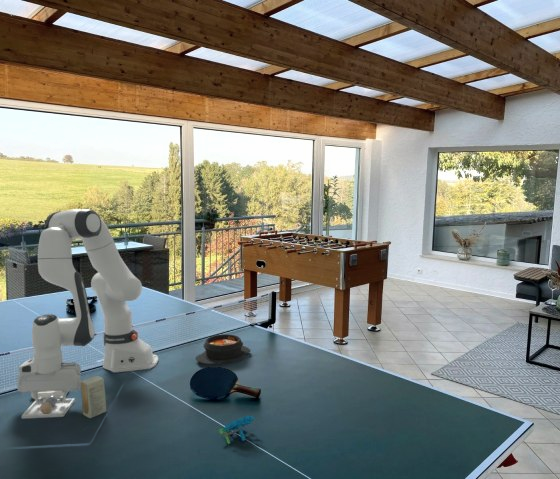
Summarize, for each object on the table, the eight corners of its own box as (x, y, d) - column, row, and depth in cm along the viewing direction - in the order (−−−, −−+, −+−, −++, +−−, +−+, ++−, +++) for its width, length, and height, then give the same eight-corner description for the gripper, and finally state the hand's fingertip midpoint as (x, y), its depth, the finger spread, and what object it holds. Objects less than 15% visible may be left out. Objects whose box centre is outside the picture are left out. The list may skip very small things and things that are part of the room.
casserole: (233, 346, 227) (233, 328, 225) (259, 356, 213) (259, 338, 212) (187, 360, 210) (186, 341, 209) (212, 372, 196) (211, 352, 195)
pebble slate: (59, 403, 170) (58, 393, 169) (55, 408, 166) (54, 398, 166) (48, 403, 169) (47, 393, 169) (44, 408, 166) (43, 398, 165)
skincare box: (99, 409, 167) (97, 374, 165) (107, 412, 164) (104, 377, 162) (82, 416, 162) (79, 380, 160) (89, 420, 159) (86, 384, 157)
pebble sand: (54, 410, 165) (53, 399, 164) (49, 415, 161) (49, 404, 161) (42, 410, 165) (42, 400, 164) (38, 415, 161) (37, 405, 160)
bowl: (73, 387, 184) (72, 378, 183) (62, 401, 172) (61, 392, 172) (41, 388, 183) (40, 379, 182) (27, 403, 171) (26, 393, 171)
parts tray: (75, 402, 171) (74, 398, 171) (63, 418, 160) (63, 413, 160) (35, 404, 170) (35, 400, 170) (21, 420, 159) (21, 415, 159)
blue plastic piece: (249, 420, 154) (254, 410, 147) (256, 439, 151) (262, 429, 144) (216, 433, 150) (220, 423, 142) (222, 452, 147) (227, 443, 139)
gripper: (83, 358, 170) (85, 396, 172) (21, 361, 168) (24, 399, 170) (77, 365, 163) (79, 405, 165) (13, 368, 162) (16, 407, 164)
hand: (51, 402), depth 168 cm, fingers open, 6 cm apart
